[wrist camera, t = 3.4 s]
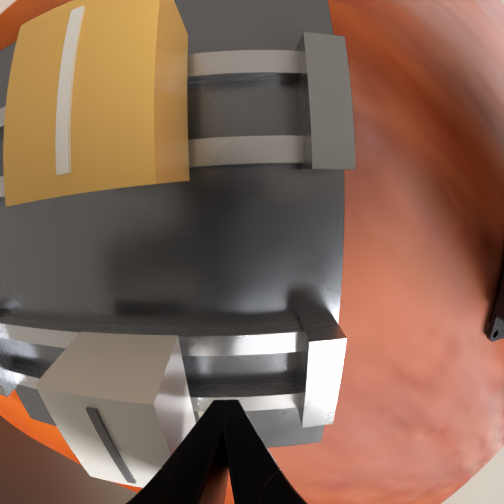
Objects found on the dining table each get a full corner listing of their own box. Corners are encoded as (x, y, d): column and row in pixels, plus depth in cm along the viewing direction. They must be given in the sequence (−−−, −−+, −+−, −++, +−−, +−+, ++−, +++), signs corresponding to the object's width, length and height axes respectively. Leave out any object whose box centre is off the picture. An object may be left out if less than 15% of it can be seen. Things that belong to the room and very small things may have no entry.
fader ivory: (184, 317, 10) (152, 407, 6) (200, 406, 11) (187, 495, 7) (95, 315, 10) (33, 387, 6) (122, 401, 11) (89, 478, 7)
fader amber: (194, 51, 8) (161, -29, 3) (196, 180, 9) (154, 184, 4) (95, 70, 8) (18, 23, 3) (94, 190, 9) (2, 207, 4)
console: (318, 0, 8) (337, -40, 5) (316, 425, 13) (328, 468, 10) (-17, 74, 8) (-52, 65, 5) (38, 407, 13) (18, 435, 10)
